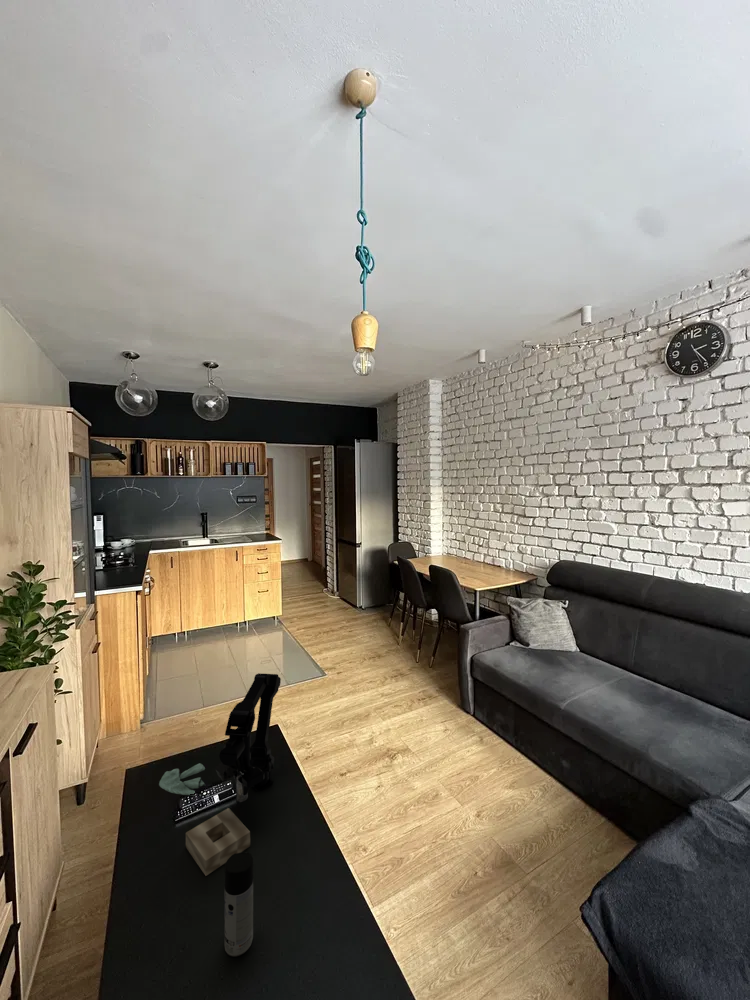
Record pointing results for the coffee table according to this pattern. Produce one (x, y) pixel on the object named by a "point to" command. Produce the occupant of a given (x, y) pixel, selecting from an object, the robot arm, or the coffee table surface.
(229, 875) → the spray can
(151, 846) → the coffee table surface
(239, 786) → the peg
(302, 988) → the coffee table surface
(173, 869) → the coffee table surface
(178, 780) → the cloth
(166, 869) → the coffee table surface
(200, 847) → the socket board
